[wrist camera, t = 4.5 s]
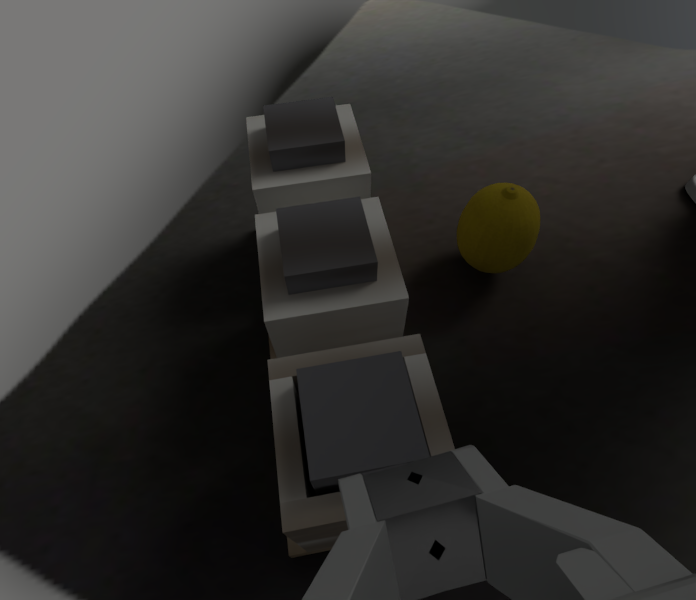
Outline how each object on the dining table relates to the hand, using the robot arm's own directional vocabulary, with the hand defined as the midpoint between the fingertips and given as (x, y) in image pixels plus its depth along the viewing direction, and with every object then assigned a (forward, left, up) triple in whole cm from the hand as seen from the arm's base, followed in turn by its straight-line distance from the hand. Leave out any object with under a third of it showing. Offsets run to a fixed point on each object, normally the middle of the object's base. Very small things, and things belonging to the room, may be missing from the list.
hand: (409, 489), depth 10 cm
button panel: (-7, -11, -18) cm, 23 cm away
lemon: (-20, -9, -19) cm, 29 cm away
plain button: (-2, -4, -13) cm, 14 cm away
